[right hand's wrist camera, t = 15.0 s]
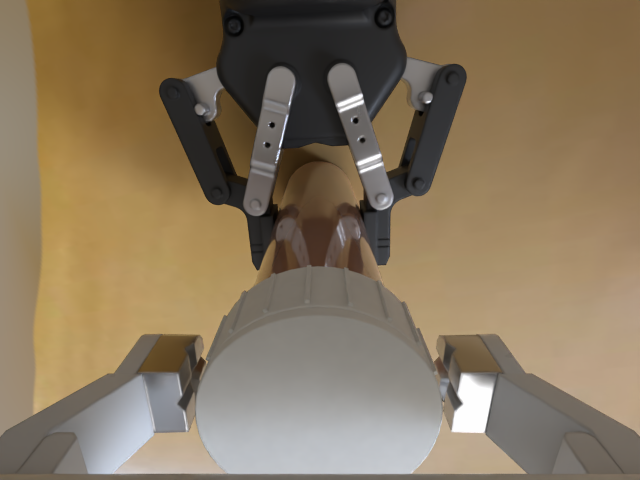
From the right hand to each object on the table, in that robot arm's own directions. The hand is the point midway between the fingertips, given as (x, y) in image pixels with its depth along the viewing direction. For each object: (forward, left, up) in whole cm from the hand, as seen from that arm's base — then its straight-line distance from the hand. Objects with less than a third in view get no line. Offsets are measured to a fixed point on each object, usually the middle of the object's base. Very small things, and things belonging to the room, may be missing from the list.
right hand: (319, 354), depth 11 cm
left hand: (-2, +2, -11) cm, 11 cm away
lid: (0, 0, +2) cm, 2 cm away
